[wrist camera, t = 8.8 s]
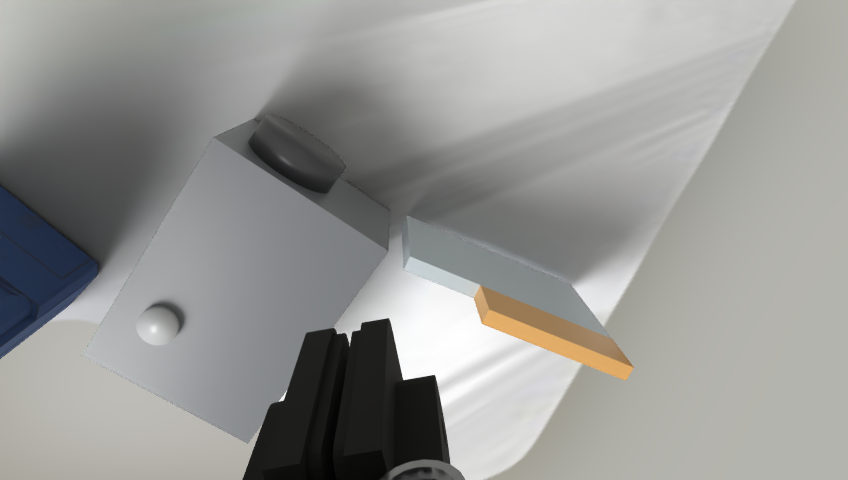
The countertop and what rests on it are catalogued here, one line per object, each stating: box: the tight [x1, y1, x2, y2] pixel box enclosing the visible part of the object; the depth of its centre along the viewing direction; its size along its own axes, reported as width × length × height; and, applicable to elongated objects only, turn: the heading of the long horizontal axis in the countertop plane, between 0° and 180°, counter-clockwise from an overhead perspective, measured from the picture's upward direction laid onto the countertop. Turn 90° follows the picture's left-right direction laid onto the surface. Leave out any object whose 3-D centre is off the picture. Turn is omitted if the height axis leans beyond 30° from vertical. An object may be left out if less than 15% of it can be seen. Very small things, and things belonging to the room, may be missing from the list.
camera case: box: [82, 114, 390, 443], centre depth 33 cm, size 16×10×9 cm, turn 144°
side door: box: [402, 215, 634, 380], centre depth 33 cm, size 12×1×11 cm, turn 66°
